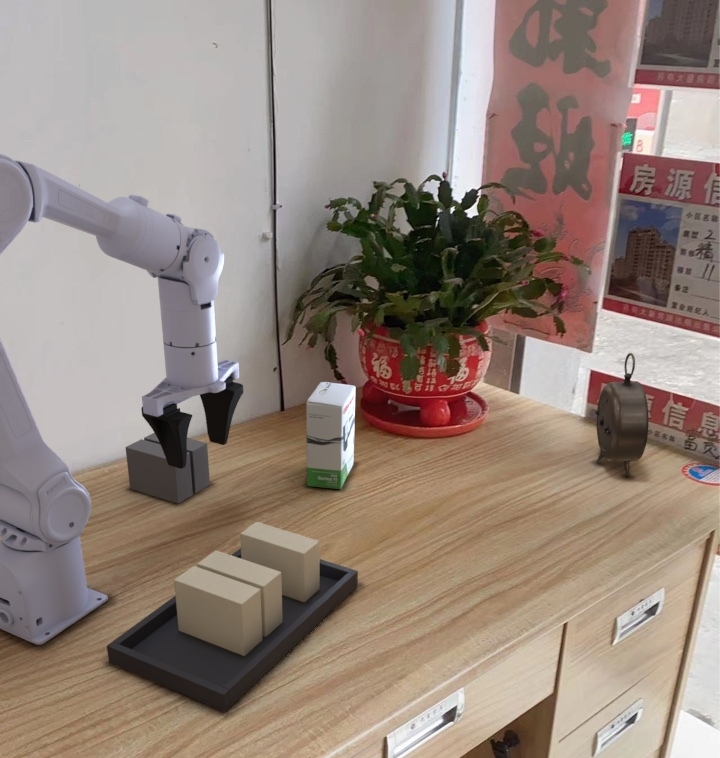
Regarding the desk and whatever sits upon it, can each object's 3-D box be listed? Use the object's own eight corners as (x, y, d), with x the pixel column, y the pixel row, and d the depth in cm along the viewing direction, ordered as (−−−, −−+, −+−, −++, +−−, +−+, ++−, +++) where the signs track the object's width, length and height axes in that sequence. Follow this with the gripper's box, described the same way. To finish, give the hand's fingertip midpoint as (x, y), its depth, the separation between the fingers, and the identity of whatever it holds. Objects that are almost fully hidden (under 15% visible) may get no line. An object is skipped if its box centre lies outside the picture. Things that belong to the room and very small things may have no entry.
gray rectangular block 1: (178, 504, 111) (174, 461, 109) (129, 489, 115) (125, 446, 112) (193, 494, 114) (189, 452, 111) (145, 480, 117) (141, 438, 114)
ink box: (341, 490, 116) (342, 405, 110) (305, 486, 116) (304, 402, 111) (355, 463, 123) (356, 382, 118) (320, 459, 124) (320, 379, 118)
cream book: (304, 603, 92) (304, 553, 89) (242, 581, 95) (239, 533, 92) (319, 589, 94) (319, 540, 91) (258, 568, 97) (256, 521, 95)
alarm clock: (641, 481, 120) (663, 367, 112) (601, 480, 120) (621, 366, 112) (621, 448, 130) (640, 341, 122) (584, 447, 130) (601, 340, 122)
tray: (224, 712, 77) (223, 694, 76) (108, 662, 83) (106, 645, 82) (357, 586, 96) (358, 570, 95) (254, 552, 101) (254, 537, 100)
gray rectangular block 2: (195, 493, 114) (192, 451, 111) (148, 479, 117) (143, 437, 115) (210, 484, 116) (207, 443, 114) (163, 470, 120) (159, 430, 117)
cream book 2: (265, 637, 86) (263, 586, 83) (200, 613, 90) (196, 563, 87) (282, 622, 89) (281, 571, 86) (219, 599, 92) (215, 549, 89)
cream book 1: (244, 656, 84) (241, 604, 81) (178, 630, 87) (173, 579, 84) (262, 640, 86) (260, 588, 83) (197, 615, 89) (193, 565, 86)
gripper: (175, 364, 89) (184, 485, 95) (258, 329, 100) (262, 439, 106) (122, 352, 92) (135, 470, 98) (209, 320, 103) (215, 427, 109)
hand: (198, 453), depth 102 cm, fingers open, 7 cm apart
